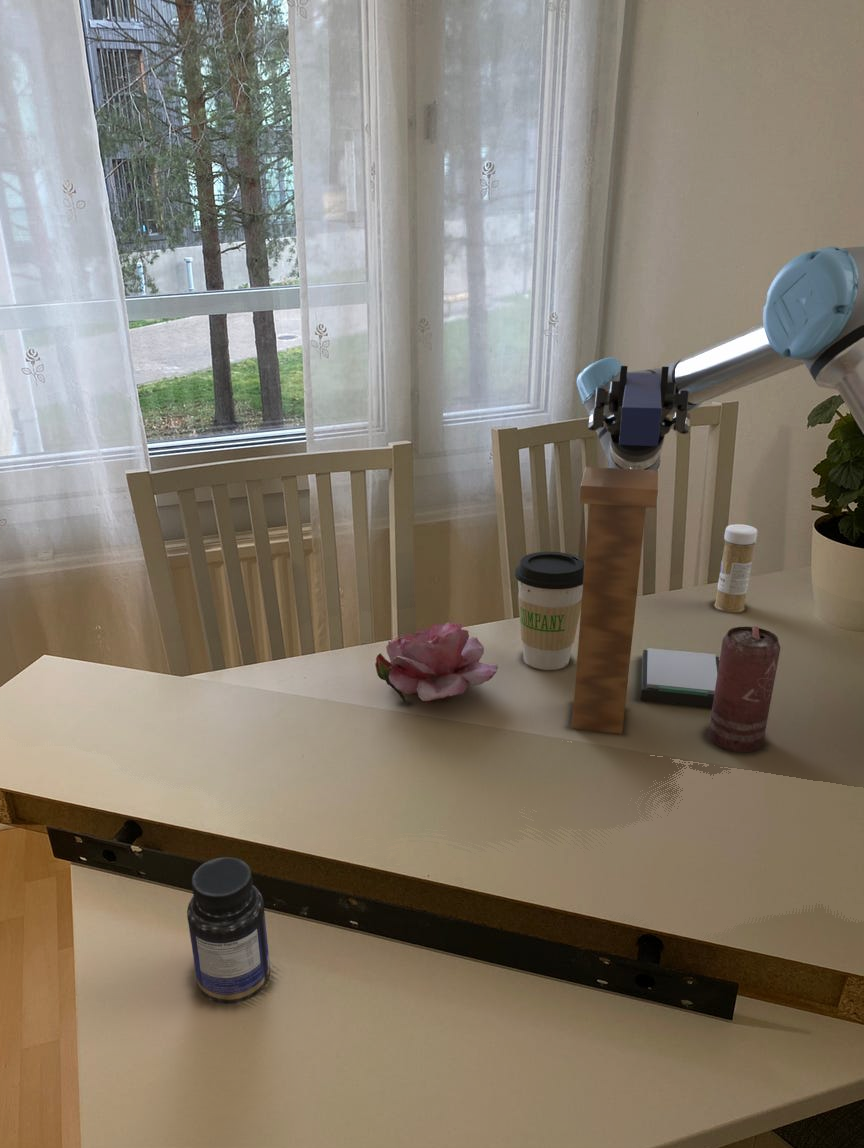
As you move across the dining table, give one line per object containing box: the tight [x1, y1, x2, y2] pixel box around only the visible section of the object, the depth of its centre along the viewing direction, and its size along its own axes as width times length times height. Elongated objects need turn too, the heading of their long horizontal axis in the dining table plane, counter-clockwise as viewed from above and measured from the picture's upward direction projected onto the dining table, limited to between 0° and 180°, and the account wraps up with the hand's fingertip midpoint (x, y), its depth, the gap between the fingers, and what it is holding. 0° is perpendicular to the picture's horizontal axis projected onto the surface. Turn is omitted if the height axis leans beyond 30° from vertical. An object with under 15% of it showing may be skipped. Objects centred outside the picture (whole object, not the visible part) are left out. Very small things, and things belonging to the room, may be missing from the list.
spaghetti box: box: [619, 373, 662, 446], centre depth 106 cm, size 4×22×4 cm, turn 165°
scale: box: [640, 647, 720, 709], centre depth 121 cm, size 10×12×3 cm
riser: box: [571, 466, 659, 735], centre depth 107 cm, size 8×8×31 cm
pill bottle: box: [186, 856, 271, 1005], centre depth 74 cm, size 6×6×11 cm
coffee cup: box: [514, 551, 585, 671], centre depth 125 cm, size 10×10×15 cm
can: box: [708, 625, 781, 753], centre depth 105 cm, size 6×6×14 cm
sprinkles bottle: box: [714, 523, 758, 613], centre depth 141 cm, size 5×5×14 cm
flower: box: [374, 621, 499, 705], centre depth 119 cm, size 15×15×10 cm
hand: (643, 377), depth 108 cm, fingers closed on spaghetti box, 4 cm apart
